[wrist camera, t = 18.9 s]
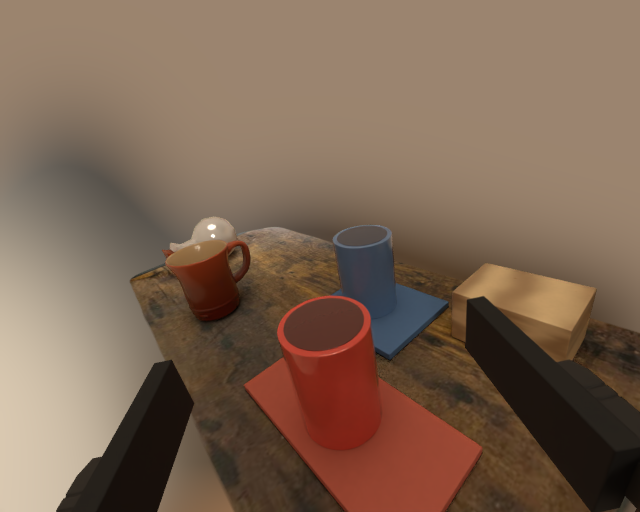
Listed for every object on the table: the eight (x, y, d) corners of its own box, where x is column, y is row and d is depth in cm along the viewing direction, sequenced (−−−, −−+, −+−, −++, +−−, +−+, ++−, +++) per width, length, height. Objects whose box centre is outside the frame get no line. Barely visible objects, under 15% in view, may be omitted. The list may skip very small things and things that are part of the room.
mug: (203, 336, 42) (175, 272, 38) (182, 314, 49) (157, 257, 44) (273, 295, 49) (256, 238, 44) (247, 281, 55) (230, 229, 51)
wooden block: (584, 338, 31) (597, 288, 28) (559, 384, 27) (571, 331, 24) (482, 304, 38) (485, 262, 35) (451, 336, 34) (452, 292, 31)
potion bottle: (247, 254, 71) (187, 289, 63) (223, 227, 74) (164, 258, 66) (245, 229, 63) (178, 266, 56) (219, 201, 66) (152, 232, 59)
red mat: (482, 453, 23) (482, 447, 22) (401, 581, 17) (400, 574, 17) (316, 339, 37) (315, 334, 37) (245, 389, 32) (243, 384, 32)
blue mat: (448, 306, 39) (448, 301, 38) (389, 360, 32) (389, 354, 32) (367, 276, 49) (366, 272, 49) (310, 313, 43) (309, 308, 42)
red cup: (399, 407, 26) (391, 315, 22) (340, 471, 23) (317, 373, 18) (342, 366, 32) (327, 285, 27) (287, 412, 28) (259, 326, 24)
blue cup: (408, 299, 40) (403, 229, 36) (372, 326, 37) (363, 252, 32) (367, 283, 46) (360, 221, 41) (333, 306, 42) (320, 240, 38)
